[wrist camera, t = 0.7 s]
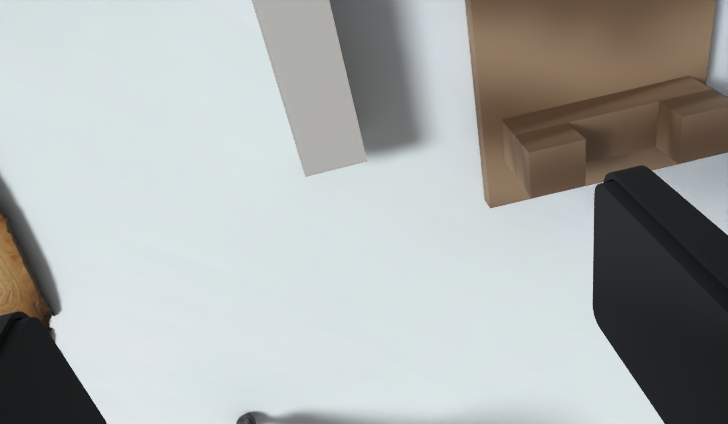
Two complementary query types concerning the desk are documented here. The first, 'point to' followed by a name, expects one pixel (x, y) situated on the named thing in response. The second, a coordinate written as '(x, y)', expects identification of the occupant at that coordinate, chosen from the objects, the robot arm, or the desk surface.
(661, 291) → the robot arm
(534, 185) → the wooden pegged board
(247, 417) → the microphone
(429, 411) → the desk surface
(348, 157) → the clay strip
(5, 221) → the parchment
